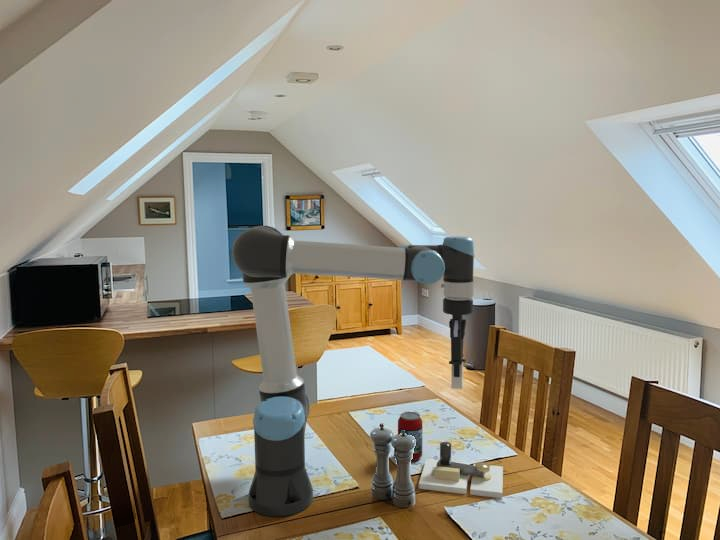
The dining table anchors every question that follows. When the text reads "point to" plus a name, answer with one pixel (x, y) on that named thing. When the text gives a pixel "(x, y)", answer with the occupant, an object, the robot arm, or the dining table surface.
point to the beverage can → (412, 430)
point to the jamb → (488, 483)
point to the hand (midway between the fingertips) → (456, 387)
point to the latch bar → (465, 469)
